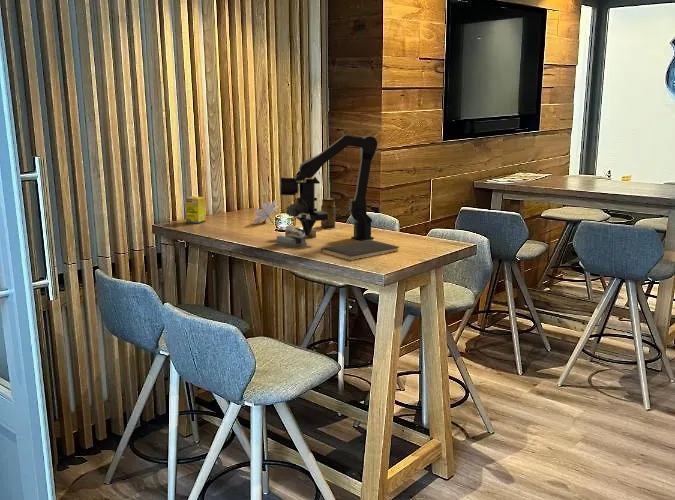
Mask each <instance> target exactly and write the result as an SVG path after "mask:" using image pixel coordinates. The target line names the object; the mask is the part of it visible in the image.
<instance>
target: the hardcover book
mask: <svg viewBox="0 0 675 500" xmlns="http://www.w3.org/2000/svg"><path fill="white" fill-rule="evenodd" d="M399 248H400V246H399V245H393V244H389V243H385V242H382V241H377V240H373V239H368V240H363V241H362V240H358V241H356V242H355V241H353V242H349V243H343V244H338V245H332V246H326V247H322V248H321V253H324V254H327V255H331V256H333V255H334V257H337V256H338V257H337V258H340V257H342V258H341V259H344V258H345V259H344V260H347V259H348V260H347V261H351V260H352V261H355V260H354V259H357V260H360V259H359V258H362V259H365V258H364V257H367V258H369V257H368V256H372V257H374V256H373V255H377V256H379V255H378V254H382V255H384V254H383V253H387V254H389V253H388V252H392V253H394V252H393V251H397V252H399Z"/></svg>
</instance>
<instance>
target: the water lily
mask: <svg viewBox="0 0 675 500" xmlns="http://www.w3.org/2000/svg"><path fill="white" fill-rule="evenodd" d="M276 201H277V198H274V200H273V201H272V202H270V201H267V203H265V202H262V209H255V211H254V214H255V216H257V217H256V218H254V219H253V222H252V224H253V225H255V224H258V223H260V222H262V221H264V222H266V221H268V220H269V221H270V222H271V224H273V225H275V223H274V221H273V220H272V218H271V215H272V214H273V213H274V212H276V211H277V209H278V207H279V205H276Z"/></svg>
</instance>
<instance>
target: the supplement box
mask: <svg viewBox="0 0 675 500" xmlns="http://www.w3.org/2000/svg"><path fill="white" fill-rule="evenodd" d="M205 204H206V203H205V197H204V196H192V195H191V196H189V197H186V198H185V215H186V217H185V219H186V224H196V225H200V224H202V223H205V222H206V210H205V208H206V206H205Z"/></svg>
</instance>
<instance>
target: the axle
mask: <svg viewBox="0 0 675 500" xmlns="http://www.w3.org/2000/svg"><path fill="white" fill-rule="evenodd" d="M286 230H291V231H295V232H299V236H301V237H304V238H305V239H307V238H308V237H307V236H306V235H305V232H304V229H303V227H299V226H298V227H297V226H293V225H287V226H286V228H285V230H284V232H285V231H286Z"/></svg>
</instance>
